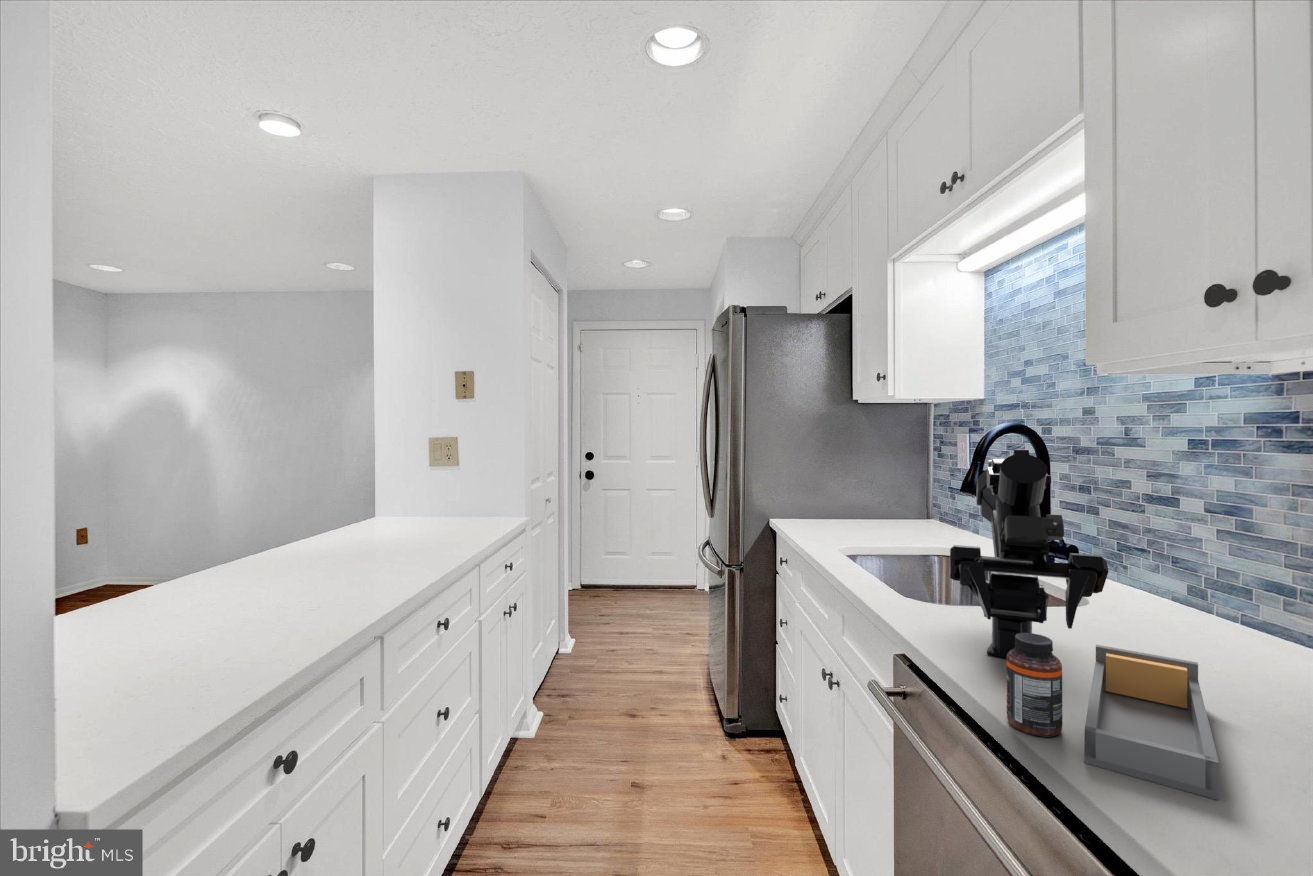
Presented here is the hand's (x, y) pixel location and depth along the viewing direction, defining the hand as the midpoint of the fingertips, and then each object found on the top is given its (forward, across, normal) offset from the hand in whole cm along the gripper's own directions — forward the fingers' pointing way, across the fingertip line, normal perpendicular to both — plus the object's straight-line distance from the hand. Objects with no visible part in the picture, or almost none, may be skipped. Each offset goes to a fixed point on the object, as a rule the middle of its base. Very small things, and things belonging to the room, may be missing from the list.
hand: (1028, 622), depth 79 cm
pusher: (+1, +15, +14) cm, 20 cm away
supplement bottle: (+12, 0, +5) cm, 13 cm away
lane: (+9, +12, +8) cm, 17 cm away
